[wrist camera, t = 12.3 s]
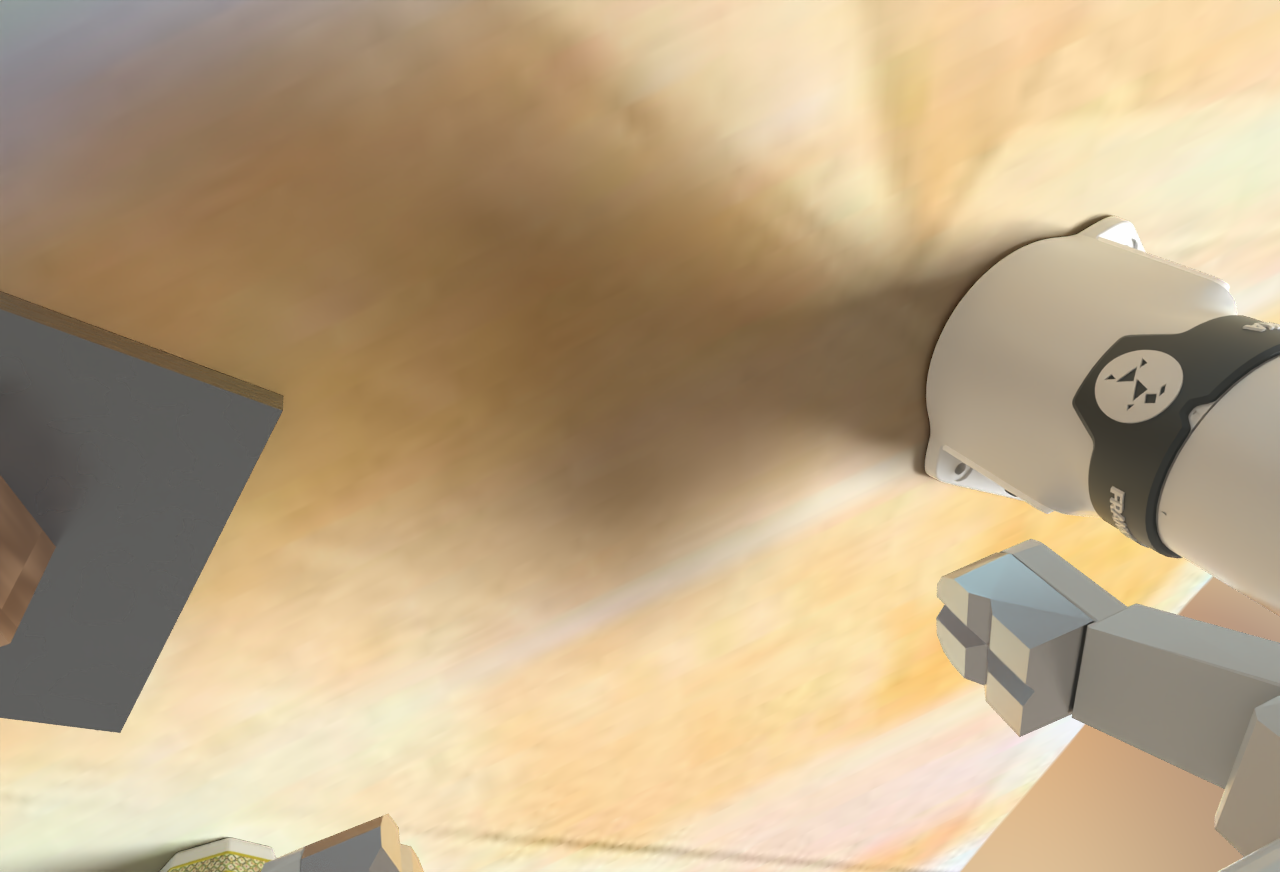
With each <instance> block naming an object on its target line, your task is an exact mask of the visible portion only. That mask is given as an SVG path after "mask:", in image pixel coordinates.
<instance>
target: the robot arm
mask: <svg viewBox="0 0 1280 872" xmlns="http://www.w3.org/2000/svg"><path fill="white" fill-rule="evenodd" d="M926 403H927V410H928V416H929V421H930V430H931V435H930V439H929V443H928V448H927V452H926V458H925V471H926V473H927V474H928V475H929V476H931V477H933V478H934V479H936V480H938V481H940V482H943V483H948V484H952V485H956V486H961V487H965V488H970V489H974V490H978V491H983V492H987V493H991V494H996V495H1000V496H1005V497H1009V498H1013V499H1018V500H1022V501H1025V502H1027V503H1028V504H1030V505H1032V506H1033V507H1035V508H1036V509H1038V510H1040V511H1042V512H1044V513H1046V514H1048V513H1051V512H1053V511H1057V512H1060V513H1063V514H1067V515H1075V516H1086V517H1097V518H1102V519H1103V520H1104V521H1106V522H1108V523H1109V524H1111V525H1112V526H1114V527H1116V528H1117V529H1119V530H1120V532H1121V533H1123V534H1124V535H1125V536H1126V537H1128V538H1130V539H1132V540H1133V541H1135V542H1137V543H1139V544H1140V545H1142V546H1145V547H1147V548H1151V549H1153V550H1155V551H1156V552H1158V553H1160V554H1162V555H1165V556H1167V557H1173V558H1184V559H1186V560H1187V561H1189V562H1191V563H1192V564H1194V565H1196V566H1197V567H1199V568H1201V569H1202V570H1204V571H1205V572H1207V573H1209V574H1210V575H1212V576H1214V577H1215V578H1217V579H1219V580H1220V581H1222V582H1224V583H1225V584H1227V585H1229V586H1230V587H1232V588H1233V589H1235V590H1237V591H1238V592H1240V593H1242V594H1243V595H1245V596H1247V597H1248V598H1250V599H1251V600H1253V601H1255V602H1257V603H1258V604H1260V605H1262V606H1263V607H1264V608H1266V609H1268V610H1269V611H1271V612H1273V613H1274V614H1276V615H1278V616H1279V617H1280V325H1279V324H1275V323H1270V322H1269V323H1268V322H1262V321H1259V320H1256V319H1253V318H1250V317H1246V316H1241V315H1238V313H1237V307H1236V302H1235V300H1234V298H1233V296H1232V295H1231V294H1230V292H1229V285H1228V284H1227V283H1226V282H1225V281H1223V280H1221V279H1219V278H1217V277H1215V276H1212V275H1209V274H1206V273H1203V272H1201V271H1198V270H1195V269H1192V268H1189V267H1186V266H1184V265H1181V264H1178V263H1175V262H1172V261H1169V260H1166V259H1163V258H1161V257H1158V256H1155V255H1152V254H1149V253H1146V252H1145V249H1144V247H1143V245H1142V243H1141V240H1140V238H1139V236H1138V234H1137V231H1136V229H1135V227H1134V225H1133V224H1132V223H1131V222H1130V221H1127V220H1125V219H1122V218H1120V217H1117V216H1110V217H1107V218H1105V219H1103V220H1101V221H1099V222H1097V223H1095V224H1093V225H1092V226H1090V227H1088V228H1087V229H1085V230H1083V231H1082V232H1080V233H1078V234H1075V235H1072V236H1067V237H1057V238H1049V239H1044V240H1040V241H1037V242H1034V243H1031V244H1028V245H1026V246H1024V247H1022V248H1020V249H1018V250H1016V251H1014V252H1013V253H1011V254H1009V255H1008V256H1006V257H1005V258H1003V259H1002V260H1001V261H999V262H998V263H997V264H995V265H994V266H993V267H992V268H990V269H989V270H988V271H987V272H986V273H985V274H984V275H983V276H982V277H981V278H980V279H979V280H978V281H977V282H976V283H975V284H974V285H973V286H972V287H971V288H970V290H969V291H968V292H967V293H966V295H965V296H964V297H963V298H962V300H961V301H960V302H959V304H958V305H957V307H956V308H955V310H954V311H953V313H952V315H951V316H950V318H949V320H948V321H947V323H946V325H945V327H944V329H943V331H942V333H941V335H940V337H939V340H938V342H937V344H936V347H935V350H934V353H933V356H932V359H931V363H930V367H929V372H928V377H927V386H926ZM937 597H938V598H939V599H940V600H941V601H942V602H943V603H944V604H945V605H944V607H943V608H942V610H941V612H940V613H939V615H938V616H937V618H936V619H937V636H938V638H939V641H940V643H941V646H942V648H943V651H944V653H945V654H946V656H947V657H948V659H949V660H950V662H951V663H952V665H953V666H954V667H955V668H956V669H957V670H958V672H959V673H960V674H961V675H962V676H963V677H964V678H966V679H968V680H971V681H974V682H977V683H979V684H982V685H984V688H985V697H986V702H987V703H988V704H989V705H990V706H991V707H992V708H993V709H994V710H995V711H996V712H997V714H998V715H999V716H1000V717H1001V718H1002V719H1003V720H1004V721H1005V722H1006V723H1007V724H1008V725H1009V726H1010V727H1011V728H1012V729H1013V731H1014V732H1015V733H1016V734H1017V735H1018V736H1019V737H1021V736H1023V735H1025V734H1028V733H1030V732H1032V731H1034V730H1037V729H1039V728H1041V727H1044V726H1046V725H1048V724H1050V723H1053V722H1055V721H1057V720H1059V719H1062V718H1064V717H1066V716H1069V715H1071V714H1072V718H1074V719H1076V720H1078V721H1080V722H1082V723H1085V724H1087V725H1089V726H1091V727H1093V728H1095V729H1097V730H1099V731H1102V732H1104V733H1106V734H1108V735H1110V736H1112V737H1115V738H1117V739H1119V740H1121V741H1123V742H1125V743H1127V744H1129V745H1132V746H1134V747H1136V748H1138V749H1140V750H1142V751H1144V752H1147V753H1149V754H1151V755H1153V756H1155V757H1157V758H1159V759H1161V760H1164V761H1166V762H1168V763H1170V764H1172V765H1174V766H1176V767H1179V768H1181V769H1183V770H1185V771H1187V772H1189V773H1192V774H1193V775H1196V776H1198V777H1200V778H1202V779H1204V780H1207V781H1208V782H1211V783H1213V784H1215V785H1217V786H1219V787H1221V788H1223V789H1225V790H1224V793H1223V796H1222V798H1221V801H1220V804H1219V806H1218V809H1217V812H1216V814H1215V829H1216V831H1217V832H1219V833H1220V834H1221V835H1222V836H1223V837H1224V838H1225V839H1226V840H1227V841H1228V842H1229V843H1230V844H1231V845H1232V846H1233V847H1234V848H1235V849H1236V850H1238V852H1240V853H1241V854H1242V855H1243V856H1244V857H1243V858H1242V859H1240V860H1238V861H1236V862H1234V863H1232V864H1230V865H1229V866H1227V867H1225V868H1223V869H1221V870H1219V871H1218V872H1280V643H1278V642H1275V641H1271V640H1268V639H1264V638H1260V637H1257V636H1253V635H1249V634H1246V633H1242V632H1238V631H1235V630H1231V629H1227V628H1223V627H1220V626H1216V625H1213V624H1209V623H1205V622H1202V621H1198V620H1194V619H1191V618H1187V617H1184V616H1180V615H1176V614H1173V613H1169V612H1165V611H1162V610H1158V609H1154V608H1151V607H1147V606H1143V605H1140V604H1134V605H1132V606H1129V607H1127V606H1125V605H1124V604H1123V603H1121V602H1120V601H1119V600H1117V599H1116V598H1115V597H1113V596H1112V595H1111V594H1109V593H1108V592H1107V591H1105V590H1104V589H1103V588H1101V587H1100V586H1099V585H1097V584H1096V583H1095V582H1093V581H1092V580H1091V579H1089V578H1088V577H1087V576H1085V575H1084V574H1083V573H1081V572H1080V571H1079V570H1077V569H1076V568H1075V567H1073V566H1072V565H1071V564H1069V563H1068V562H1067V561H1065V560H1064V559H1063V558H1062V557H1060V556H1059V555H1058V554H1056V553H1055V552H1054V551H1052V550H1051V549H1050V548H1048V547H1047V546H1046V545H1044V544H1043V543H1041V542H1039V541H1036V540H1033V539H1029V540H1027V541H1024V542H1022V543H1019V544H1017V545H1015V546H1013V547H1010V548H1008V549H1006V550H1003V551H1001V552H999V553H994V554H992V555H990V556H987V557H985V558H983V559H981V560H978V561H976V562H974V563H972V564H969V565H967V566H965V567H963V568H960V569H958V570H956V571H954V572H951V573H949V574H947V575H945V576H942V577H941V579H940V581H939V582H938V584H937ZM261 872H424V871H423V868H422V866H421V863H420V861H419V859H418V857H417V855H416V853H415V852H414V850H413V849H412V847H411V846H407V845H403V844H400V840H399V827H398V826H397V825H396V823H395V822H394V821H393V819H392V818H391V817H390V815H389V814H386V815H384V816H381V817H378V818H376V819H373V820H371V821H368V822H366V823H363V824H361V825H358V826H356V827H353V828H351V829H348V830H346V831H343V832H340V833H338V834H335V835H333V836H330V837H328V838H325V839H323V840H320V841H318V842H315V843H313V844H310V845H308V846H305V847H303V848H300V849H298V850H295V851H293V852H291V853H288V854H286V855H283V856H281V857H279V858H276V859H274V860H271V861H269V862H267V863H264V866H263V868H262V870H261Z"/></svg>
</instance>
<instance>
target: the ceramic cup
mask: <svg viewBox="0 0 1280 872" xmlns="http://www.w3.org/2000/svg"><path fill="white" fill-rule="evenodd" d="M274 859H276V856H275V853H274V850H273V848H272V847H269V846H264V845H260V844H256V843H252V842H248V841H243V840H239V839H235V838H226V839H222V840H219V841H215V842H212V843H208V844H205V845H201V846H198V847H194V848H191V849H187V850H184V851H180V852H178V853H176V854H175V855H174V856H173V857H172V858H171V859H170V860H169V861H168V863H167V864H166V865H165V866H164V867H163V868H162V869H161V870H160V871H159V872H261V870H262V868H263V866H264V863H267V862H269V861H271V860H274Z"/></svg>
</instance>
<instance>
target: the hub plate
mask: <svg viewBox="0 0 1280 872" xmlns="http://www.w3.org/2000/svg"><path fill="white" fill-rule="evenodd" d="M282 411H283V396H282V395H280V394H277V393H274V392H272V391H269V390H266V389H263V388H261V387H258V386H255V385H253V384H250V383H247V382H244V381H242V380H239V379H236V378H234V377H231V376H228V375H226V374H223V373H220V372H217V371H215V370H212V369H209V368H207V367H204V366H201V365H198V364H196V363H193V362H190V361H188V360H185V359H182V358H179V357H177V356H174V355H171V354H169V353H166V352H163V351H161V350H158V349H155V348H152V347H150V346H147V345H144V344H142V343H139V342H136V341H133V340H131V339H128V338H125V337H123V336H120V335H117V334H115V333H112V332H109V331H106V330H104V329H101V328H98V327H96V326H93V325H90V324H87V323H85V322H82V321H79V320H77V319H74V318H71V317H68V316H66V315H63V314H60V313H58V312H55V311H52V310H50V309H47V308H44V307H41V306H39V305H36V304H33V303H31V302H28V301H25V300H22V299H20V298H17V297H14V296H12V295H9V294H6V293H4V292H1V291H0V475H1V476H2V478H3V479H4V480H5V482H6V483H7V484H8V485H9V487H10V488H11V489H12V491H13V492H14V493H15V495H16V496H17V497H18V498H19V500H20V501H21V502H22V504H23V505H24V506H25V508H26V509H27V510H28V511H29V513H30V514H31V515H32V517H33V518H34V519H35V520H36V522H37V523H38V524H39V526H40V527H41V528H42V530H43V531H44V532H45V533H46V535H47V536H48V537H49V539H50V540H51V541H52V542H53V544H54V545H55V546H56V548H55V550H54V552H53V554H52V556H51V558H50V561H49V563H48V565H47V567H46V569H45V571H44V573H43V575H42V577H41V580H40V582H39V584H38V586H37V588H36V590H35V592H34V594H33V596H32V599H31V601H30V603H29V605H28V607H27V609H26V611H25V613H24V615H23V618H22V620H21V622H20V624H19V626H18V628H17V630H16V632H15V634H14V637H13V639H12V641H11V643H10V644H7V645H4V646H1V647H0V718H7V719H15V720H23V721H31V722H39V723H47V724H55V725H63V726H71V727H79V728H86V729H94V730H102V731H110V732H118V733H120V732H121V730H122V728H123V726H124V724H125V722H126V720H127V718H128V716H129V714H130V712H131V710H132V708H133V706H134V704H135V702H136V700H137V698H138V696H139V694H140V692H141V690H142V688H143V687H144V685H145V683H146V681H147V679H148V677H149V675H150V673H151V671H152V669H153V667H154V665H155V663H156V661H157V659H158V657H159V655H160V653H161V651H162V649H163V647H164V645H165V643H166V641H167V639H168V637H169V635H170V633H171V631H172V629H173V627H174V625H175V623H176V621H177V619H178V617H179V615H180V613H181V611H182V609H183V607H184V605H185V603H186V601H187V599H188V597H189V595H190V593H191V591H192V589H193V587H194V585H195V583H196V581H197V579H198V577H199V575H200V573H201V571H202V570H203V568H204V566H205V564H206V562H207V560H208V558H209V556H210V554H211V552H212V550H213V548H214V546H215V544H216V542H217V540H218V538H219V536H220V534H221V532H222V530H223V528H224V526H225V524H226V522H227V520H228V518H229V516H230V514H231V512H232V510H233V508H234V506H235V504H236V502H237V500H238V498H239V496H240V494H241V492H242V490H243V488H244V486H245V484H246V482H247V480H248V478H249V476H250V474H251V472H252V470H253V468H254V466H255V464H256V462H257V460H258V458H259V456H260V454H261V453H262V451H263V449H264V447H265V445H266V443H267V441H268V439H269V437H270V435H271V433H272V431H273V429H274V427H275V425H276V423H277V421H278V419H279V417H280V415H281V413H282Z"/></svg>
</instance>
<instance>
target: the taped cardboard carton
mask: <svg viewBox="0 0 1280 872" xmlns="http://www.w3.org/2000/svg"><path fill="white" fill-rule="evenodd" d="M55 548H56V546H55V545H54V544H53V542H52V541H51V540H50V539H49V537H48V536H47V535H46V533H45V532H44V531H43V530H42V528H41V527H40V526H39V524H38V523H37V522H36V520H35V519H34V518H33V517H32V515H31V514H30V513H29V511H28V510H27V509H26V508H25V506H24V505H23V504H22V502H21V501H20V500H19V498H18V497H17V496H16V495H15V493H14V492H13V491H12V489H11V488H10V487H9V485H8V484H7V483H6V482H5V480H4V479H3V478H2V476H1V475H0V647H1V646H4V645H7V644H10V643H11V641H12V639H13V637H14V634H15V632H16V630H17V628H18V626H19V624H20V622H21V620H22V618H23V615H24V613H25V611H26V609H27V607H28V605H29V603H30V601H31V599H32V596H33V594H34V592H35V590H36V588H37V586H38V584H39V582H40V580H41V577H42V575H43V573H44V571H45V569H46V567H47V565H48V563H49V561H50V558H51V556H52V554H53V552H54V550H55Z"/></svg>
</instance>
